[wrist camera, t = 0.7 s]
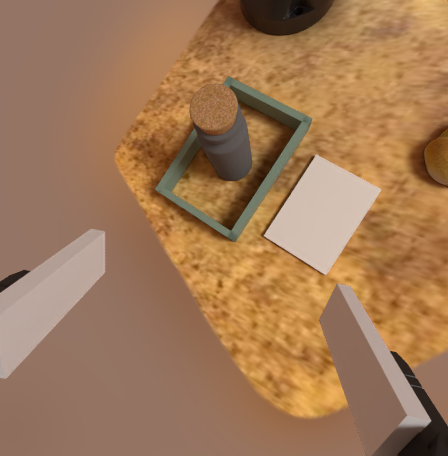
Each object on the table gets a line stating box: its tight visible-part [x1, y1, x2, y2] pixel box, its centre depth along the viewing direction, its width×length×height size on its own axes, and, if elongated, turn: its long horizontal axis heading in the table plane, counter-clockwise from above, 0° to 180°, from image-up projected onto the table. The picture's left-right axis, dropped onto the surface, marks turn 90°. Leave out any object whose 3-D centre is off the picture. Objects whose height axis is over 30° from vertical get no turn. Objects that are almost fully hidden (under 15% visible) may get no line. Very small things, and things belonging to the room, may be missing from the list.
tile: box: [264, 155, 382, 275], centre depth 35 cm, size 14×10×1 cm
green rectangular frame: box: [155, 76, 312, 242], centre depth 37 cm, size 20×14×3 cm
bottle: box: [190, 84, 252, 181], centre depth 31 cm, size 6×6×15 cm
